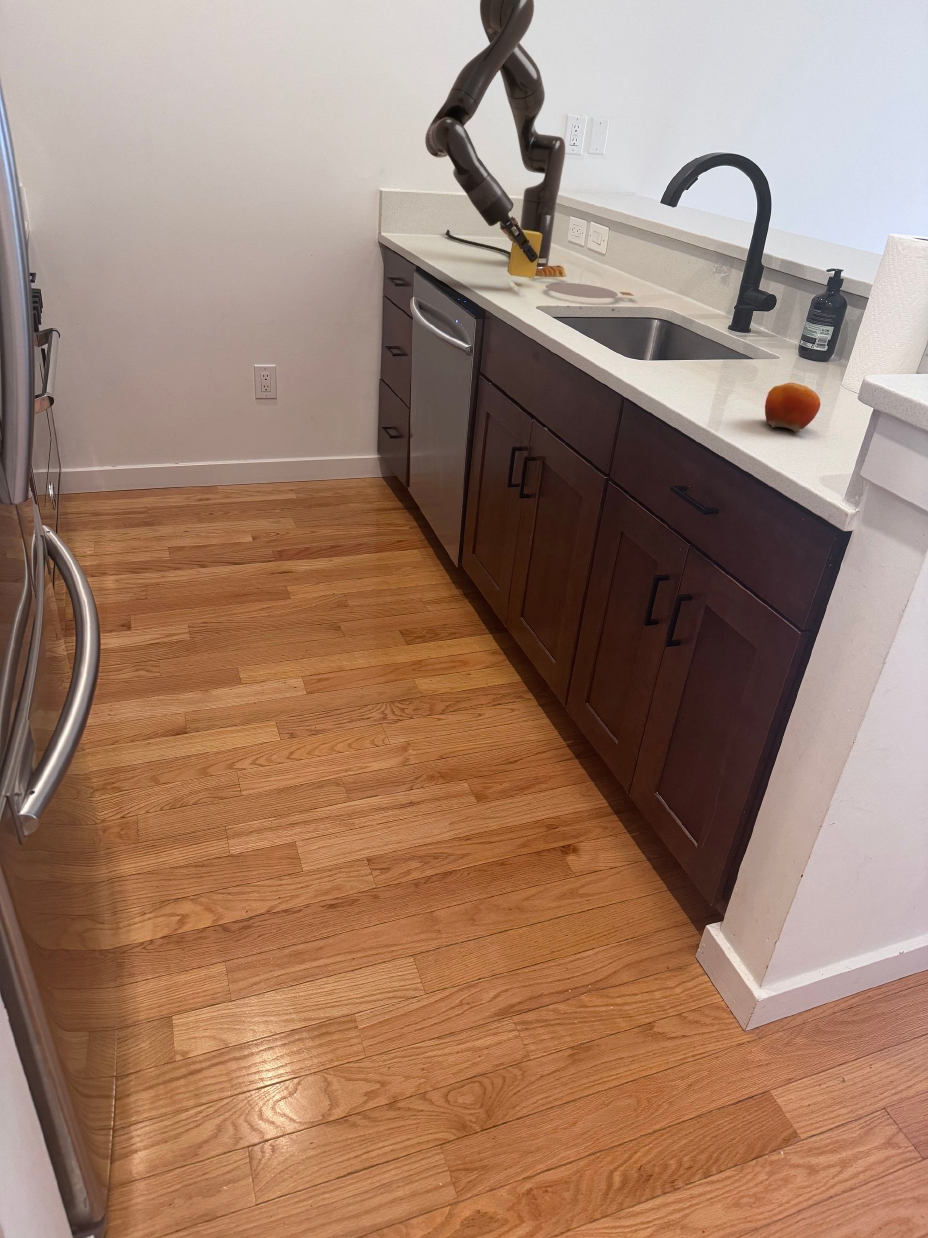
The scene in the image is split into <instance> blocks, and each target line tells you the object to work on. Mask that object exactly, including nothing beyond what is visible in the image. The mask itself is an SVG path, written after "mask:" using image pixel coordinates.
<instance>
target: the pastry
mask: <svg viewBox="0 0 928 1238" xmlns="http://www.w3.org/2000/svg"><path fill="white" fill-rule="evenodd" d="M566 274H567V273H566V271H565V267H563V266H562V265H561V264H559V265H548V266H544V267H542V268H541V269H537V270H536V273H535V277H540V278H567V275H566Z"/></svg>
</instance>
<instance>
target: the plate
mask: <svg viewBox="0 0 928 1238" xmlns="http://www.w3.org/2000/svg"><path fill="white" fill-rule="evenodd" d="M545 288H546V289H548V290H549V291H552V292H555V293H558V294H562V295H567V296H573V297H579V298H588V299H611V298H616V297H618V296H619V295H618V292H616V291H614V290H611V289H609V288H605V287H603V286H602V287H601V286H598V285H597V286H596V285H591V284H585V283H575V282H552V283H548V284H546V285H545Z"/></svg>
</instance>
